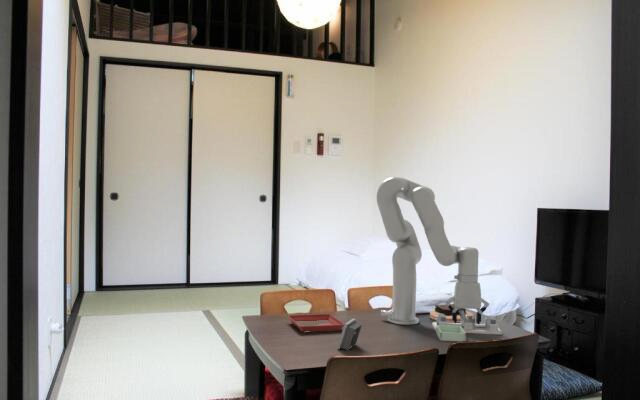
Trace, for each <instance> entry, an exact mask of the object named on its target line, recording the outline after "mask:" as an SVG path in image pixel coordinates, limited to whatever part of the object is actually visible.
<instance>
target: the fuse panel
mask: <svg viewBox="0 0 640 400" xmlns="http://www.w3.org/2000/svg"><path fill="white" fill-rule="evenodd" d="M466 318H467V316H466ZM431 324H432V326H433V329H434V330H435V331H436V325H438V315H436V321H432V323H431ZM440 325H448V326H461V327H462V328H463V330H464V331H465V333H466V334H483V335H486V334H487V335H503V331H502V330H501V329H500V328H499V324H498V323H496V324H490V331H488V329H487V328H486V327H487V317H485V318H484V323H480V324H477V323H475V328H486V330H484V329H473V323H465V329H464V321H463V320H461V319H460V322H457V323H454V322H448V321H446V322H443V321H440Z"/></svg>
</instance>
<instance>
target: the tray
mask: <svg viewBox="0 0 640 400" xmlns="http://www.w3.org/2000/svg"><path fill="white" fill-rule="evenodd" d="M463 329H464V327H461V326H448V325H436V330H435V333H436V335H437V337H438V340H439V341H445V342H446V341H447V342H462V341H466V342H467V333H465V331H464V330H463Z"/></svg>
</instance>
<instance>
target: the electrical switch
mask: <svg viewBox="0 0 640 400" xmlns="http://www.w3.org/2000/svg"><path fill="white" fill-rule="evenodd" d="M356 320H357V319H356V318H352V319H350V320H348V321H347V322H346V323H344V324H345V325H344V326H343V327H342V332H341V335H340V338H339V341H338V345H337V347H336V348H337V350H339V349H340V348H341V349H344V350H346V351H350V350H349V348H350V347H351V346H353V347H354V345H355V346H356V345H357V341H358V338H359V335H360V332H361V329H362V326H363V324H362V323H359V322H357V321H356ZM341 349H340V350H341Z"/></svg>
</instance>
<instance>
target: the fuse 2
mask: <svg viewBox="0 0 640 400" xmlns="http://www.w3.org/2000/svg"><path fill="white" fill-rule="evenodd" d="M486 318H487V327H486V330H488V331H490V324H497V319H496V318H495V317H494V316H493V315H486Z"/></svg>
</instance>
